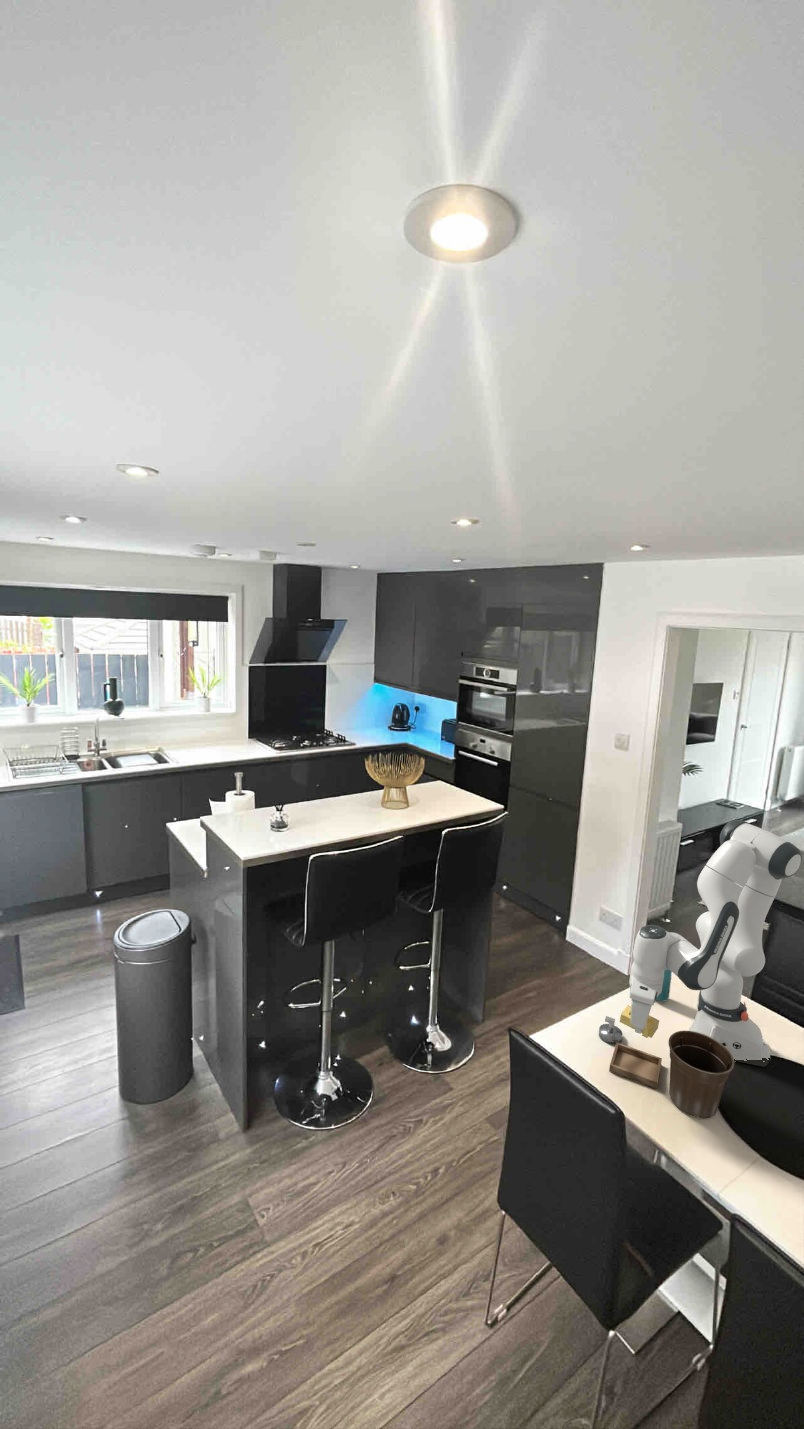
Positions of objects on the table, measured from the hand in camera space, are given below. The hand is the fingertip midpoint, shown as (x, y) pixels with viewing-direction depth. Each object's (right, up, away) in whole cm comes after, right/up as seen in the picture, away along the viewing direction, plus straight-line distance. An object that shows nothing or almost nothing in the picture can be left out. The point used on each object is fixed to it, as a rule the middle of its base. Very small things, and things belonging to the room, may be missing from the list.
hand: (640, 1024), depth 180 cm
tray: (0, -14, +3) cm, 15 cm away
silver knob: (-3, -12, +16) cm, 20 cm away
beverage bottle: (+20, -9, +36) cm, 42 cm away
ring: (0, 0, 0) cm, 1 cm away
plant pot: (+11, -17, -9) cm, 23 cm away
